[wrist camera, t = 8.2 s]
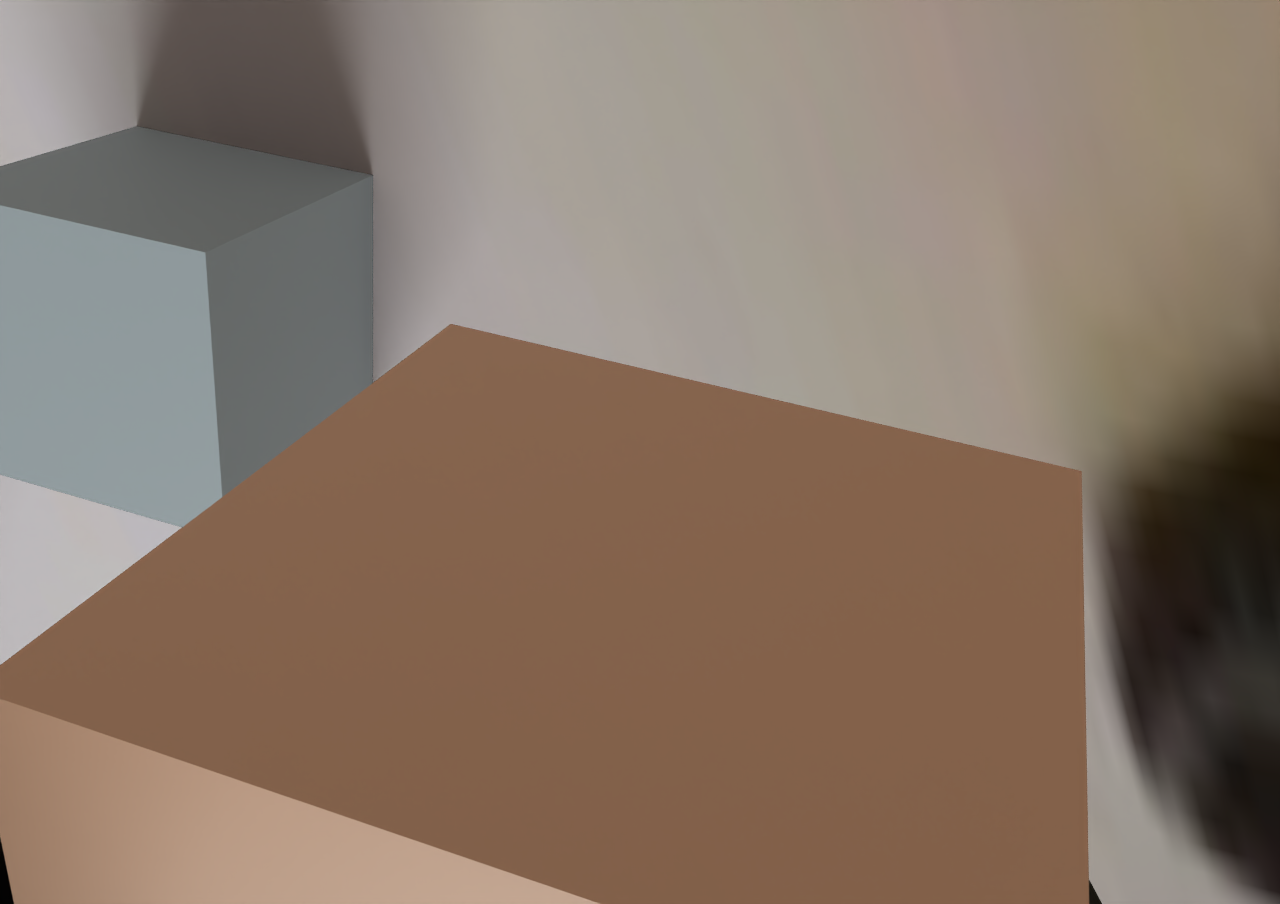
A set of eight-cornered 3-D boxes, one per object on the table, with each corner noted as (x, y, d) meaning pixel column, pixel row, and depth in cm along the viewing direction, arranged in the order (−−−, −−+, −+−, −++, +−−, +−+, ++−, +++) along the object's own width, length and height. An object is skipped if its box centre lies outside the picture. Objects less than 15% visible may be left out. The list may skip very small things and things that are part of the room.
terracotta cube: (1081, 471, 9) (1091, 1072, 4) (927, 940, 11) (838, 1627, 7) (451, 324, 10) (-31, 687, 5) (434, 780, 12) (91, 1280, 8)
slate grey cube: (374, 174, 22) (205, 252, 17) (374, 418, 24) (225, 539, 20) (140, 125, 23) (-74, 188, 19) (161, 363, 25) (-24, 467, 21)
